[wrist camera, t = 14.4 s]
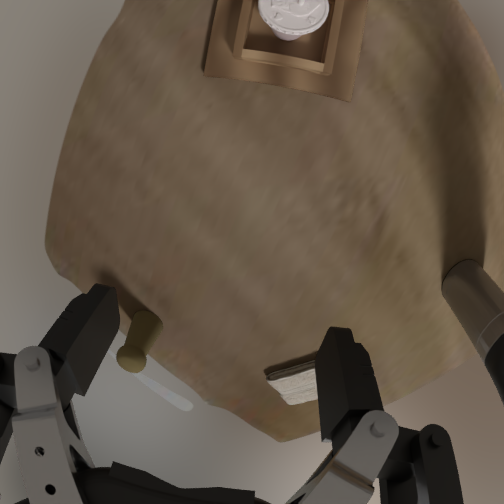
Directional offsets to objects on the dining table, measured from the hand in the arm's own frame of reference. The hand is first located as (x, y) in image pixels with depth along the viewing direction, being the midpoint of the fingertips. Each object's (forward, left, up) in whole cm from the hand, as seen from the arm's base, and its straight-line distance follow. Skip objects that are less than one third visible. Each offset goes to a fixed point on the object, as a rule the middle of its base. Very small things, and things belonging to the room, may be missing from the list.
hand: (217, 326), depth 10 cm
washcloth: (-19, +40, -31) cm, 54 cm away
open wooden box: (-1, -18, -30) cm, 35 cm away
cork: (+15, +32, -30) cm, 47 cm away
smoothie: (-1, -18, -29) cm, 34 cm away
